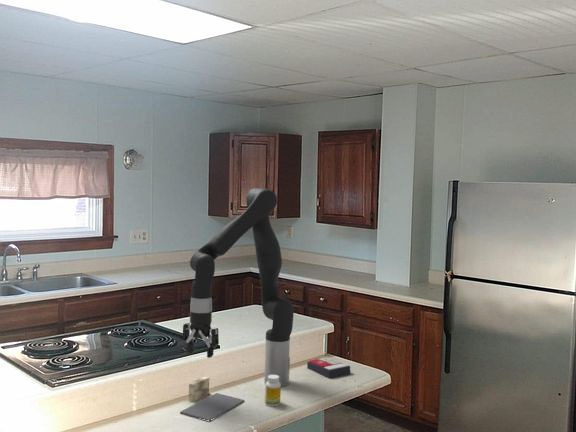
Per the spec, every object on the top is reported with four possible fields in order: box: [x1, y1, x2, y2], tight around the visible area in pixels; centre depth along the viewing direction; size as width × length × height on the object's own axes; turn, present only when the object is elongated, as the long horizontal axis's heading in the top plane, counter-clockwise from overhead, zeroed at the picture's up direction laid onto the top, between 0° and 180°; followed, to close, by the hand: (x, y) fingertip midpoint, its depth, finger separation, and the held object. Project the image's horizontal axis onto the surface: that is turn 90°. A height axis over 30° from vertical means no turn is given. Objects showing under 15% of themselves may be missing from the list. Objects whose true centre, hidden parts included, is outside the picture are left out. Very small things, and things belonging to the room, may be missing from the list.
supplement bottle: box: [264, 375, 282, 407], centre depth 197 cm, size 5×5×10 cm
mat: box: [179, 392, 245, 422], centre depth 192 cm, size 20×12×1 cm, turn 151°
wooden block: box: [188, 376, 210, 402], centre depth 201 cm, size 9×2×6 cm, turn 151°
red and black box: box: [306, 357, 351, 380], centre depth 233 cm, size 11×4×15 cm
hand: (199, 355), depth 200 cm, fingers open, 8 cm apart
